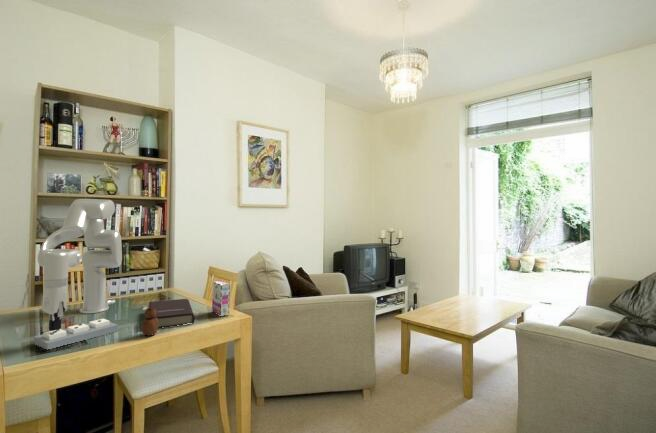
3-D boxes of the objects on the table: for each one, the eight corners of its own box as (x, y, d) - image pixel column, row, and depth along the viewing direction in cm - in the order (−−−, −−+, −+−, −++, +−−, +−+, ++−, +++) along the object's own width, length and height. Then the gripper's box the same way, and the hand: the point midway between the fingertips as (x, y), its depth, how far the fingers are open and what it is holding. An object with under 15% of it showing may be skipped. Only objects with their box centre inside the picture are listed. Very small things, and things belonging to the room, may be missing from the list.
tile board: (103, 326, 152) (103, 319, 152) (117, 331, 146) (117, 324, 146) (34, 344, 130) (34, 336, 130) (47, 351, 124) (47, 343, 124)
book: (194, 325, 158) (194, 312, 158) (147, 330, 149) (148, 317, 149) (189, 309, 182) (189, 298, 182) (148, 313, 173) (149, 302, 173)
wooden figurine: (146, 332, 146) (147, 298, 146) (160, 332, 147) (161, 298, 146) (139, 338, 139) (140, 302, 139) (153, 337, 140) (154, 302, 140)
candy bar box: (229, 315, 172) (230, 284, 172) (220, 317, 169) (221, 285, 168) (220, 310, 180) (221, 280, 180) (211, 312, 177) (212, 281, 177)
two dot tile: (82, 330, 142) (82, 322, 142) (89, 333, 139) (89, 325, 139) (67, 334, 137) (67, 326, 137) (73, 337, 134) (73, 329, 134)
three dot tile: (60, 336, 135) (60, 328, 135) (66, 339, 132) (66, 330, 132) (43, 340, 130) (43, 332, 130) (49, 343, 127) (49, 335, 127)
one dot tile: (103, 325, 149) (103, 317, 149) (109, 327, 146) (109, 320, 146) (89, 328, 144) (89, 321, 144) (95, 331, 141) (95, 323, 141)
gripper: (35, 282, 131) (34, 328, 131) (52, 287, 124) (51, 336, 124) (58, 279, 138) (57, 323, 138) (75, 283, 130) (75, 330, 130)
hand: (54, 329), depth 131 cm, fingers closed
